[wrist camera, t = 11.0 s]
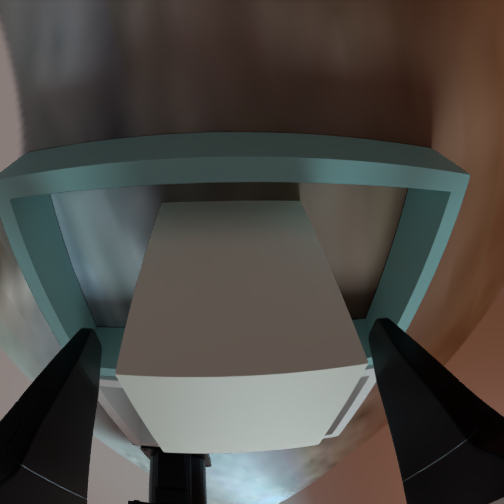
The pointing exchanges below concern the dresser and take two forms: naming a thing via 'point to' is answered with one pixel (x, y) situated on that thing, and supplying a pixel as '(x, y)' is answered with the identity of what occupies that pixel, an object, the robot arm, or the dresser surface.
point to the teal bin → (227, 170)
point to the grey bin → (138, 434)
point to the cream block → (237, 331)
